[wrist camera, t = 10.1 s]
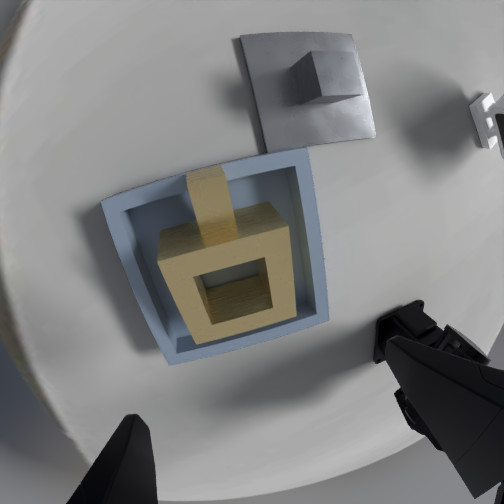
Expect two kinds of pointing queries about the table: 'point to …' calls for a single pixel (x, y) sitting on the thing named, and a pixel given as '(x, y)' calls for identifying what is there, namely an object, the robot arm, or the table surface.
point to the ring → (227, 262)
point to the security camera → (489, 120)
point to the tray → (181, 211)
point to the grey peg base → (307, 88)
